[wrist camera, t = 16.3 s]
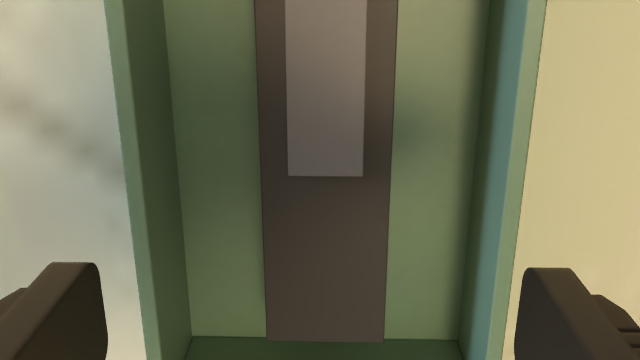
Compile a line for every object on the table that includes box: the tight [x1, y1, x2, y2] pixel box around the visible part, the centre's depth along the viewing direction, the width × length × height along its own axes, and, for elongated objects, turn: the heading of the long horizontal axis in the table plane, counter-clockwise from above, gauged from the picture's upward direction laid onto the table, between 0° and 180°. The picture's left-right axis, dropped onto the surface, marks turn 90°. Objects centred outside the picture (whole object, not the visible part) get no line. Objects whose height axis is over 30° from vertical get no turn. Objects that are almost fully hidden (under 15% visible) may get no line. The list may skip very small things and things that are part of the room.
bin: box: [104, 0, 547, 360], centre depth 22 cm, size 13×21×5 cm, turn 0°
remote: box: [254, 0, 398, 343], centre depth 22 cm, size 5×16×3 cm, turn 0°
